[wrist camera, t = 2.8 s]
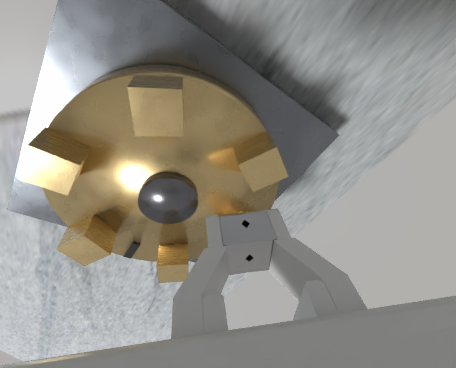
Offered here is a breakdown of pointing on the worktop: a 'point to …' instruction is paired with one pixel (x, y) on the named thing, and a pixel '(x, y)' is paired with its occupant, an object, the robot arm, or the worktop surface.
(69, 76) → the base plate
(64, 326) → the worktop surface
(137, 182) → the ring nut
